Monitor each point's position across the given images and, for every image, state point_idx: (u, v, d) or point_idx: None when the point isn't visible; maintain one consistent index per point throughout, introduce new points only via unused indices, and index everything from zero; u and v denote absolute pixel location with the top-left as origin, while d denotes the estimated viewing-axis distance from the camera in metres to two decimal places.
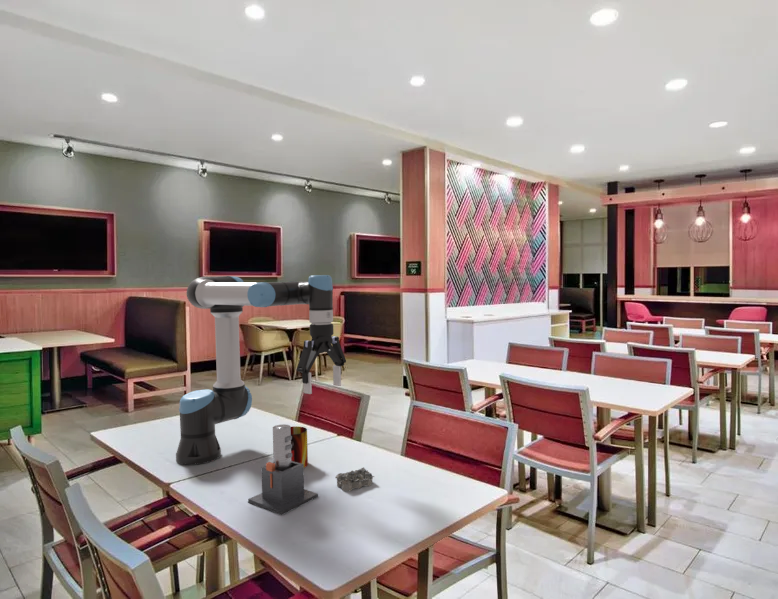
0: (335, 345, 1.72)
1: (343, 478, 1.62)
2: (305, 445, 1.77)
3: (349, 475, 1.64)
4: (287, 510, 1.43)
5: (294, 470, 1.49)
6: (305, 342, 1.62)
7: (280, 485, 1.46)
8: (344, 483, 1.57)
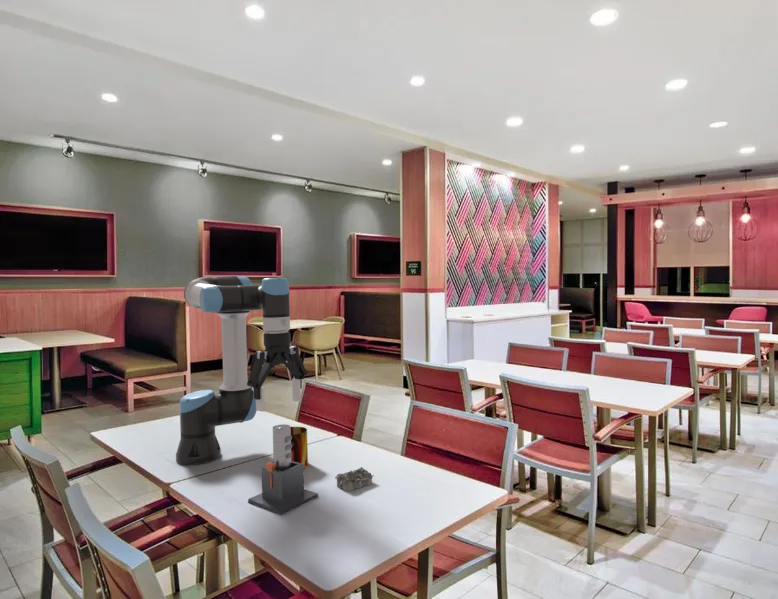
0: (294, 356, 1.54)
1: (342, 478, 1.62)
2: (305, 445, 1.77)
3: (348, 475, 1.64)
4: (287, 510, 1.43)
5: (294, 470, 1.49)
6: (257, 353, 1.44)
7: (280, 485, 1.46)
8: (345, 483, 1.57)
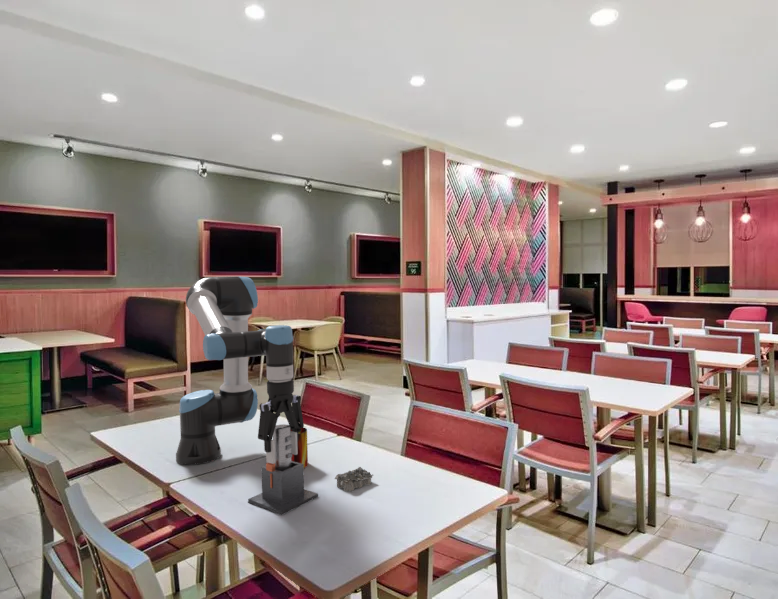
0: (295, 405, 1.54)
1: (342, 479, 1.62)
2: (305, 445, 1.77)
3: (347, 475, 1.64)
4: (287, 510, 1.43)
5: (294, 470, 1.49)
6: (261, 406, 1.45)
7: (280, 485, 1.46)
8: (346, 483, 1.57)
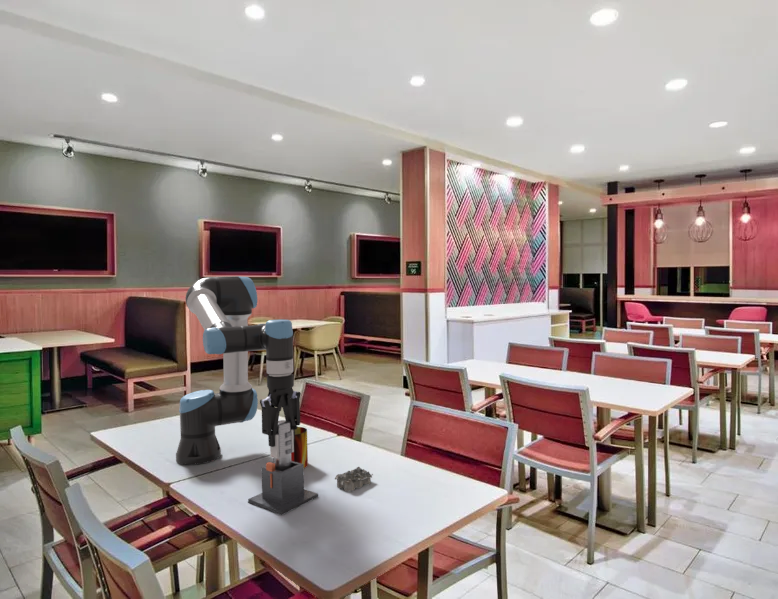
0: (294, 401, 1.54)
1: (342, 479, 1.62)
2: (305, 445, 1.77)
3: (346, 475, 1.64)
4: (287, 510, 1.43)
5: (294, 470, 1.49)
6: (261, 402, 1.45)
7: (280, 485, 1.46)
8: (347, 483, 1.57)
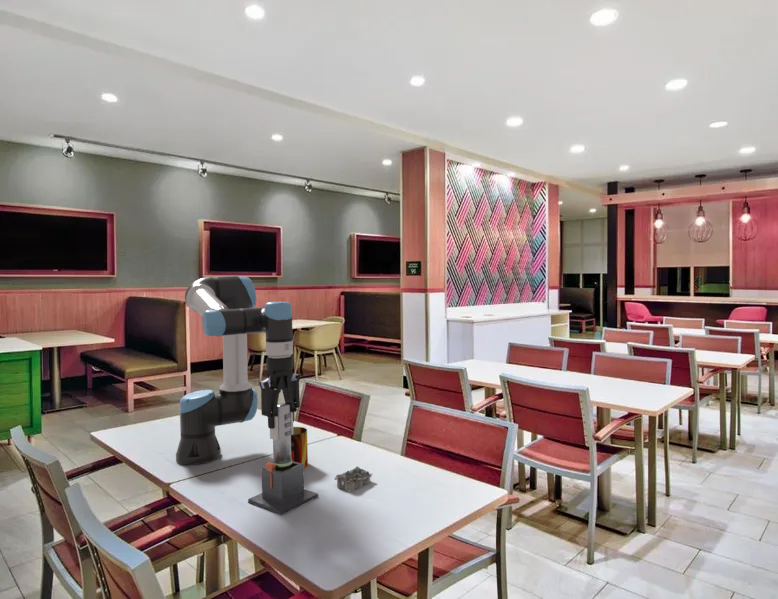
0: (293, 383, 1.54)
1: (341, 479, 1.61)
2: (305, 445, 1.77)
3: (345, 475, 1.64)
4: (287, 510, 1.43)
5: (294, 470, 1.49)
6: (261, 384, 1.45)
7: (280, 485, 1.46)
8: (347, 483, 1.57)
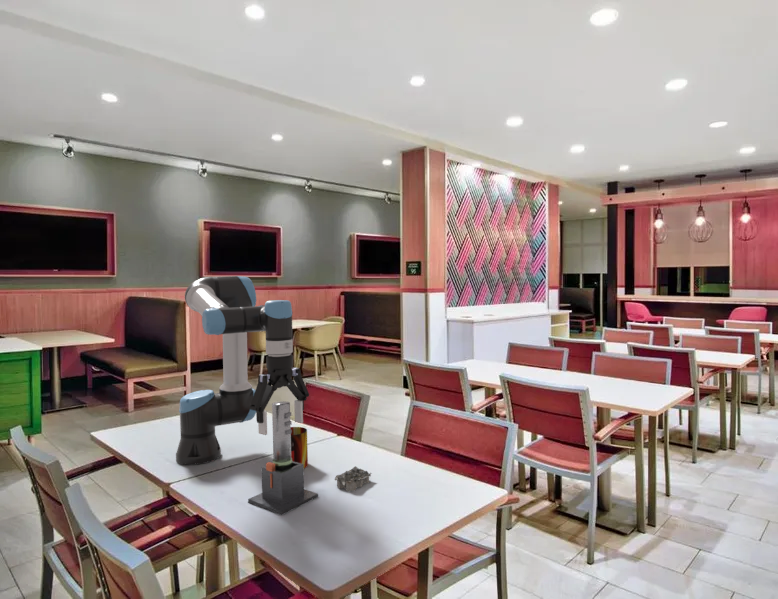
0: (296, 378, 1.54)
1: (341, 479, 1.61)
2: (305, 446, 1.77)
3: (344, 476, 1.64)
4: (287, 510, 1.43)
5: (294, 470, 1.49)
6: (260, 376, 1.44)
7: (280, 485, 1.46)
8: (349, 483, 1.57)
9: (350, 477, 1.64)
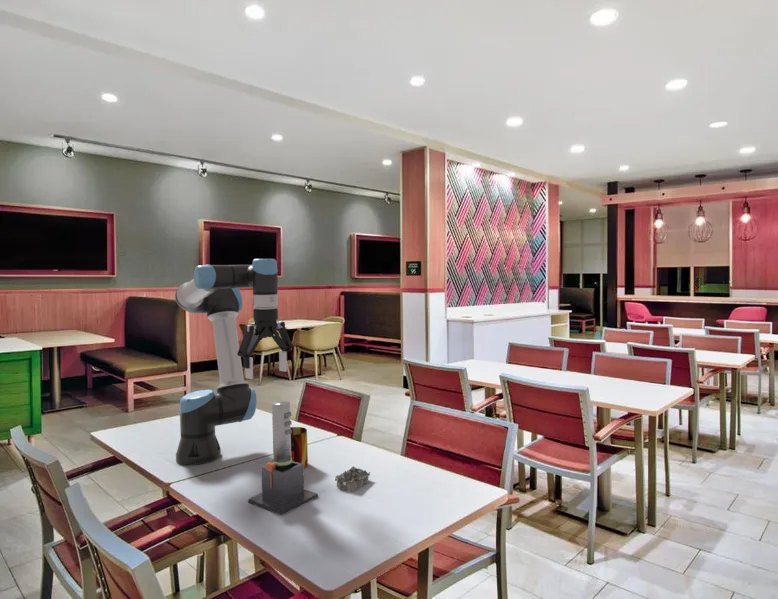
0: (281, 330, 1.70)
1: (341, 480, 1.61)
2: (305, 446, 1.76)
3: (343, 476, 1.64)
4: (287, 510, 1.43)
5: (294, 470, 1.49)
6: (247, 326, 1.60)
7: (280, 485, 1.46)
8: (350, 483, 1.57)
9: (349, 477, 1.64)
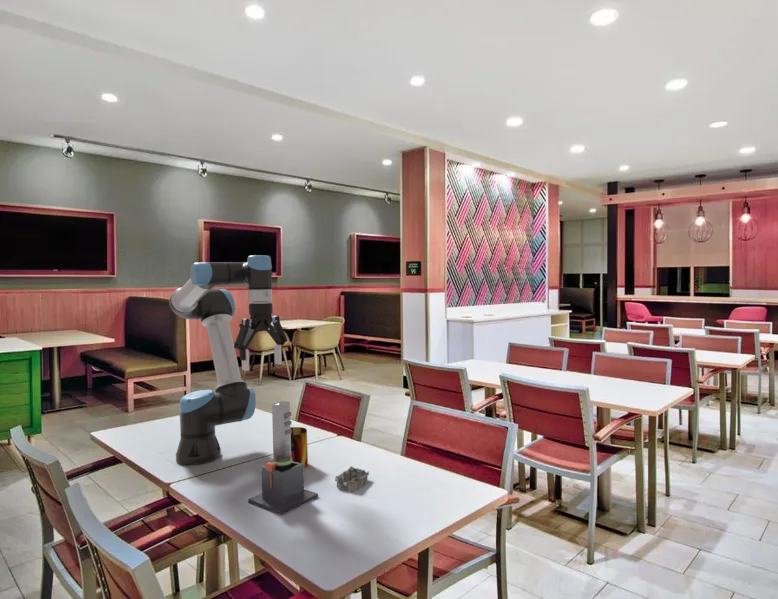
0: (276, 324, 1.77)
1: (340, 480, 1.61)
2: (305, 446, 1.76)
3: None
4: (287, 510, 1.43)
5: (294, 470, 1.49)
6: (243, 320, 1.66)
7: (280, 485, 1.46)
8: (351, 483, 1.57)
9: (348, 477, 1.64)
